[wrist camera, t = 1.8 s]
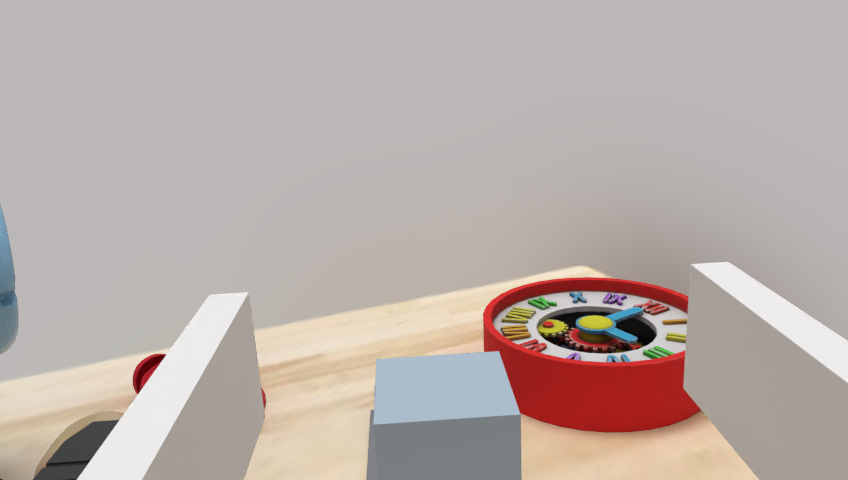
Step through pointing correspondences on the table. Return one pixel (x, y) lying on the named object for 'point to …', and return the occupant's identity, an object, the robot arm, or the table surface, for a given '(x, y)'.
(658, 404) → the toy clock
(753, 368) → the robot arm
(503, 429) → the blue-grey rectangular block
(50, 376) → the table surface
